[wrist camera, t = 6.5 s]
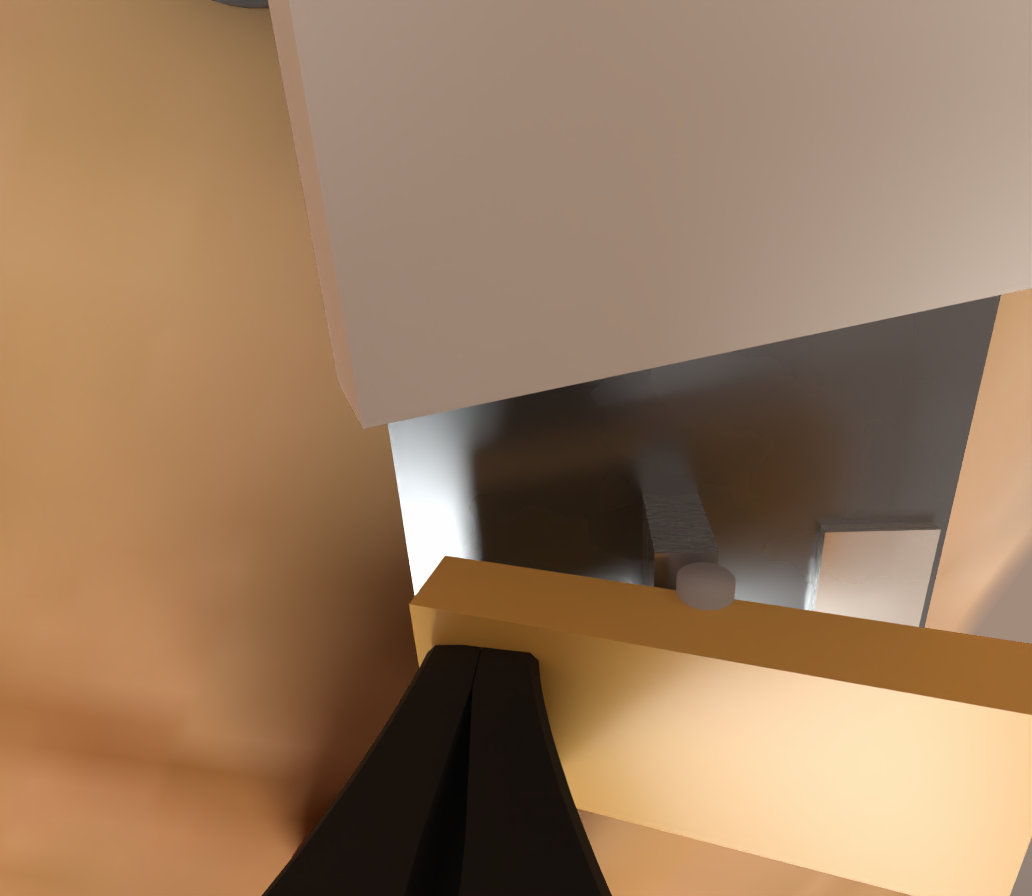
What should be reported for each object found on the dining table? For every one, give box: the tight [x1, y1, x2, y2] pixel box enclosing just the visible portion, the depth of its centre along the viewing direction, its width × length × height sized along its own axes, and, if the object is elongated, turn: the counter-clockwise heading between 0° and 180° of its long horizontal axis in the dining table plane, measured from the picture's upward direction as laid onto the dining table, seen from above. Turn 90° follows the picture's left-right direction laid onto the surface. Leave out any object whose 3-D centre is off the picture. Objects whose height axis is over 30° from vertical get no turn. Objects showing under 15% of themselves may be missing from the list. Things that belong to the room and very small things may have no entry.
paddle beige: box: [268, 0, 1032, 429], centre depth 6 cm, size 7×3×2 cm, turn 96°
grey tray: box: [388, 295, 1001, 628], centre depth 11 cm, size 8×13×4 cm, turn 3°
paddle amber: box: [409, 556, 1032, 896], centre depth 9 cm, size 7×3×2 cm, turn 92°
